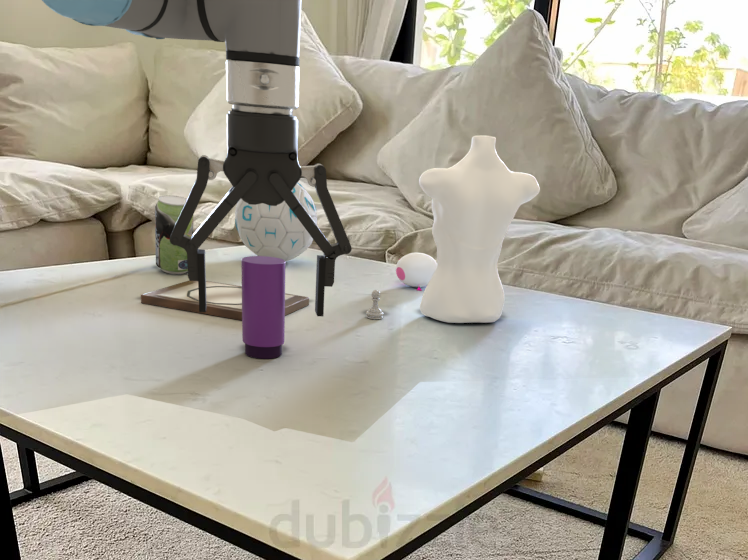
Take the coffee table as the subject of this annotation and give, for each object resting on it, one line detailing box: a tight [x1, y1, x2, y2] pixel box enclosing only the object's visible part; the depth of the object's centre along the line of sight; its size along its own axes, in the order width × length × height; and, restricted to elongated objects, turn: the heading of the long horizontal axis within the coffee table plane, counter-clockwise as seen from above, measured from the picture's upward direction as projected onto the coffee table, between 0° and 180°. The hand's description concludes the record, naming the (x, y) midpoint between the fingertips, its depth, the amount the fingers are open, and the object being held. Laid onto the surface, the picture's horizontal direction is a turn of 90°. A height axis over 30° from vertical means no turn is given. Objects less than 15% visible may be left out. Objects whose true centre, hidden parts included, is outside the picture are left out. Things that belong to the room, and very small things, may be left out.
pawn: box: [365, 289, 384, 320], centre depth 113 cm, size 3×3×4 cm
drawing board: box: [140, 279, 310, 321], centre depth 115 cm, size 20×14×1 cm
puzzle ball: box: [234, 182, 318, 262], centre depth 144 cm, size 15×15×15 cm
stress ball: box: [395, 252, 437, 291], centre depth 135 cm, size 8×8×7 cm
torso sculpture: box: [418, 134, 541, 324], centre depth 112 cm, size 18×10×25 cm, turn 108°
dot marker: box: [240, 255, 286, 360], centre depth 92 cm, size 5×5×11 cm
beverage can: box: [154, 194, 194, 275], centre depth 129 cm, size 6×7×12 cm
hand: (261, 311), depth 92 cm, fingers open, 13 cm apart
